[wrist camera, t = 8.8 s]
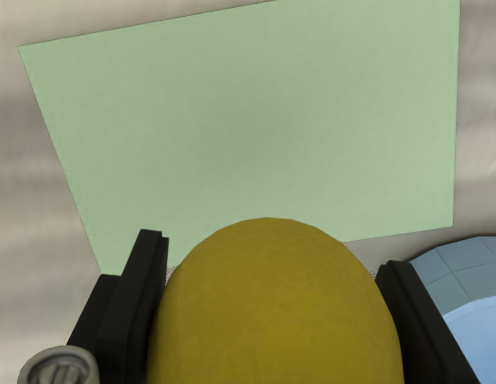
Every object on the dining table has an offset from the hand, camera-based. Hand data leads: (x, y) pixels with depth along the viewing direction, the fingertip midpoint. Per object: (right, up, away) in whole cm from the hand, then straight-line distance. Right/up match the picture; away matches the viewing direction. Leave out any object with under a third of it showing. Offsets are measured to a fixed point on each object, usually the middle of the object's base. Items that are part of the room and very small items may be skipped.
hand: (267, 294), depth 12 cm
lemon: (0, +1, +2) cm, 2 cm away
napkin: (0, +5, +11) cm, 12 cm away
